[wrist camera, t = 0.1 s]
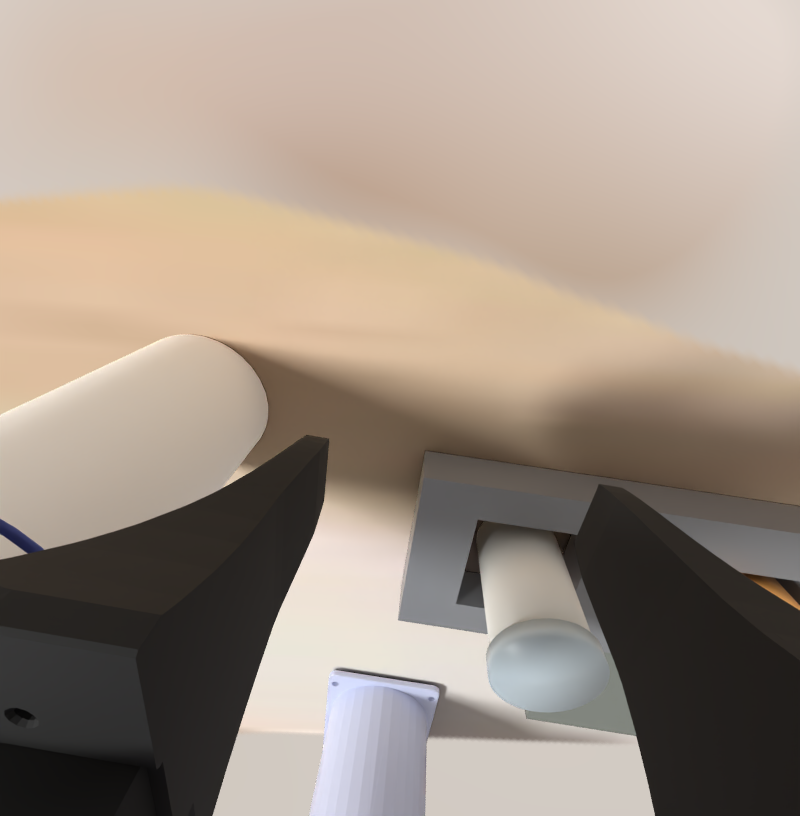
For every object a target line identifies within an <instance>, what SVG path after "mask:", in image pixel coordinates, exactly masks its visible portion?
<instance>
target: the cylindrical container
mask: <svg viewBox="0 0 800 816" xmlns="http://www.w3.org/2000/svg"><path fill="white" fill-rule="evenodd" d="M267 421H268V402H267V397H266V392H265V390H264V388H263V385H262V383H261V381H260V379H259V377H258V376H257V374H256V373H255V371H254V370H253V368H252V367H251V366H250V365H249V364H248V363H247V362H246V361H245V360H244V358H243V357H241V356H240V355H239V354H238V353H236V352H235V351H234V350H232V349H231V348H229V347H228V346H226V345H224V344H222V343H220V342H219V341H216V340H213V339H210V338H207V337H204V336H198V335H192V334H182V335H173V336H170V337H166V338H163V339H161V340H158V341H156V342H154V343H152V344H150V345H148V346H146V347H144V348H141V349H139V350H137V351H135V352H133V353H131V354H129V355H127V356H124V357H122V358H120V359H118V360H116V361H114V362H112V363H110V364H107V365H105V366H103V367H101V368H99V369H97V370H95V371H93V372H90V373H88V374H86V375H84V376H82V377H80V378H78V379H76V380H73V381H71V382H69V383H67V384H65V385H63V386H61V387H58V388H56V389H54V390H52V391H50V392H48V393H46V394H43V395H41V396H39V397H37V398H35V399H33V400H31V401H28V402H26V403H24V404H22V405H20V406H18V407H15V408H13V409H11V410H9V411H7V412H5V413H2V414H0V560H1V559H6V558H11V557H15V556H20V555H24V554H28V553H33V552H37V551H41V550H46V549H50V548H54V547H59V546H63V545H67V544H71V543H75V542H79V541H83V540H86V539H90V538H93V537H97V536H100V535H104V534H107V533H111V532H114V531H117V530H120V529H123V528H126V527H130V526H133V525H136V524H139V523H142V522H144V521H147V520H150V519H152V518H155V517H157V516H160V515H163V514H165V513H168V512H171V511H173V510H176V509H178V508H181V507H183V506H186V505H188V504H191V503H193V502H195V501H197V500H199V499H201V498H204V497H206V496H208V495H210V494H212V493H214V492H216V491H218V490H220V489H222V487H223V486H224V485H225V484H226V482H227V481H228V480H229V478H230V477H231V476H232V475H233V473H234V472H235V471H236V469H237V468H238V467H239V465H240V464H241V463H242V462H243V460H244V459H245V458H246V456H247V455H248V454H249V453H250V451H251V450H252V449H253V447H254V446H255V445H256V443H257V442H258V441H259V440H260V438H261V437H262V435H263V433H264V431H265V429H266V425H267Z"/></svg>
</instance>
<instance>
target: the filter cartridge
mask: <svg viewBox="0 0 800 816" xmlns="http://www.w3.org/2000/svg"><path fill="white" fill-rule="evenodd" d="M476 542H477V551H478V559H479V567H480V575H481V583H482V591H483V599H484V607H485V615H486V623H487V631H488V639H489V647H488V649H487V653H486V661H487V670H488V678H489V683H490V685H491V688H492V689H493V691H494V692H495V693H496V694H497V695H498V696H499V697H500V698H501V699H502V700H504V701H505V702H507V703H509V704H511V705H513V706H515V707H518V708H521V709H524V710H529V711H534V712H561V711H567V710H571V709H574V708H578V707H580V706H583V705H585V704H587V703H589V702H591V701H592V700H594V699H595V698H596V697H598V696H599V695H600V694H601V693H602V692H603V691H604V689H605V688H606V686H607V684H608V681H609V677H610V670H609V665H608V663H607V660H606V658H605V655H604V652H603V650H602V647H601V645H600V643H599V641H598V640H597V638H596V637H595V636H594V635H593V634H592V633H591V632H590V629H589V626H588V624H587V621H586V618H585V615H584V613H583V610H582V607H581V605H580V602H579V599H578V597H577V594H576V591H575V588H574V586H573V583H572V580H571V578H570V575H569V572H568V569H567V567H566V564H565V561H564V559H563V556H562V553H561V550H560V548H559V545H558V542H557V540H556V537H555V534H554V532H553V531H549V530H542V529H536V528H529V527H522V526H516V525H509V524H502V523H496V522H489V521H484V522H483V523H482V525H481V526H480V528H479V529H478V532H477V537H476Z"/></svg>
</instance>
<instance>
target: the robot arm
mask: <svg viewBox="0 0 800 816" xmlns="http://www.w3.org/2000/svg"><path fill="white" fill-rule="evenodd" d="M328 448H329V439H327V438H321V437H315V436H309V435H306V436H304V437H303V438H301V439H300V440H298V441H297V442H295V443H294V444H293V445H291V446H290V447H288V448H287V449H285V450H284V451H282V452H281V453H280V454H278V455H277V456H275V457H274V458H272V459H271V460H269V461H268V462H266V463H265V464H263V465H261V466H260V467H258V468H257V469H255V470H254V471H252V472H250V473H248V474H247V475H245V476H243V477H242V478H240V479H238V480H236V481H235V482H233V483H231V484H229V485H228V486H226V487H224V488H222V489H220V490H218V491H216V492H214V493H212V494H210V495H208V496H206V497H204V498H201V499H199V500H197V501H195V502H193V503H191V504H188V505H186V506H183V507H181V508H178V509H176V510H173V511H171V512H168V513H165V514H163V515H160V516H157V517H155V518H152V519H150V520H147V521H144V522H142V523H139V524H136V525H133V526H130V527H126V528H123V529H120V530H117V531H114V532H111V533H107V534H104V535H100V536H97V537H93V538H90V539H86V540H83V541H79V542H75V543H71V544H67V545H63V546H59V547H54V548H50V549H46V550H41V551H37V552H33V553H28V554H24V555H20V556H15V557H11V558H6V559H1V560H0V816H212V815H213V812H214V808H215V805H216V802H217V799H218V795H219V792H220V789H221V785H222V782H223V779H224V775H225V772H226V769H227V765H228V762H229V759H230V756H231V753H232V750H233V746H234V743H235V740H236V737H237V734H238V731H239V727H240V724H241V721H242V718H243V715H244V711H245V708H246V705H247V702H248V699H249V696H250V693H251V690H252V687H253V684H254V681H255V678H256V675H257V672H258V669H259V666H260V663H261V660H262V657H263V654H264V651H265V648H266V645H267V642H268V639H269V637H270V634H271V631H272V628H273V625H274V622H275V620H276V617H277V615H278V612H279V610H280V608H281V605H282V603H283V601H284V599H285V597H286V594H287V592H288V590H289V588H290V585H291V583H292V581H293V579H294V577H295V574H296V572H297V570H298V568H299V566H300V564H301V561H302V559H303V557H304V555H305V552H306V550H307V548H308V546H309V543H310V541H311V539H312V537H313V534H314V532H315V528H316V525H317V522H318V519H319V516H320V512H321V509H322V506H323V502H324V494H325V483H326V471H327V459H328ZM574 546H575V550H576V555H577V560H578V564H579V568H580V572H581V576H582V580H583V582H584V585H585V588H586V591H587V593H588V596H589V599H590V601H591V604H592V606H593V609H594V612H595V614H596V617H597V619H598V622H599V624H600V627H601V629H602V632H603V635H604V637H605V640H606V642H607V645H608V647H609V650H610V652H611V655H612V658H613V660H614V663H615V665H616V668H617V671H618V674H619V677H620V680H621V683H622V686H623V689H624V693H625V697H626V700H627V704H628V707H629V711H630V714H631V718H632V721H633V725H634V729H635V732H636V736H637V740H638V744H639V748H640V752H641V756H642V760H643V764H644V768H645V772H646V776H647V780H648V784H649V789H650V794H651V799H652V803H653V808H654V812H655V816H800V610H799V609H797V608H795V607H794V606H792V605H790V604H789V603H787V602H786V601H784V600H782V599H781V598H779V597H778V596H776V595H774V594H773V593H771V592H769V591H768V590H766V589H765V588H763V587H761V586H760V585H758V584H757V583H755V582H754V581H752V580H751V579H749V578H748V577H746V576H745V575H743V574H742V573H740V572H739V571H737V570H736V569H734V568H733V567H732V566H730V565H729V564H727V563H726V562H724V561H723V560H722V559H720V558H719V557H717V556H716V555H714V554H713V553H712V552H710V551H709V550H707V549H706V548H705V547H703V546H702V545H701V544H699V543H698V542H697V541H695V540H694V539H692V538H691V537H690V536H688V535H687V534H686V533H684V532H683V531H682V530H680V529H679V528H678V527H676V526H675V525H674V524H673V523H671V522H670V521H669V520H667V519H666V518H665V517H663V516H662V515H661V514H659V513H658V512H657V511H655V510H654V509H653V508H651V507H650V506H649V505H647V504H646V503H644V502H643V501H642V500H640V499H639V498H638V497H636V496H635V495H633V494H632V493H630V492H629V491H627V490H625V489H624V488H621V487H615V486H609V485H603V484H599V485H598V488H597V490H596V492H595V495H594V497H593V499H592V502H591V504H590V506H589V509H588V511H587V513H586V516H585V518H584V520H583V523H582V525H581V528H580V530H579V532H578V535H577V537H576V539H575V542H574ZM438 699H439V688H438V687H436V686H434V685H427V684H421V683H415V682H408V681H402V680H396V679H389V678H383V677H377V676H370V675H364V674H358V673H351V672H345V671H339V670H334V671H332V672H330V675H329V683H328V695H327V707H326V718H325V730H324V743H323V744H324V747H323V751H322V756H321V761H320V766H319V771H318V775H317V780H316V785H315V790H314V794H313V799H312V804H311V809H310V814H309V816H425V794H426V743H427V739H428V735H429V732H430V728H431V724H432V721H433V717H434V713H435V710H436V706H437V702H438Z"/></svg>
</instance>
